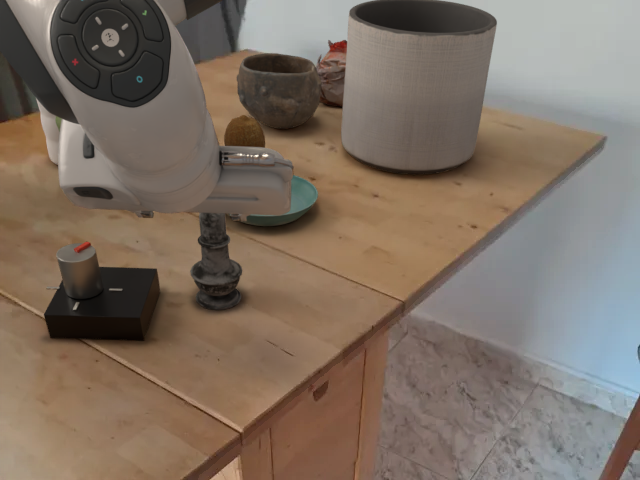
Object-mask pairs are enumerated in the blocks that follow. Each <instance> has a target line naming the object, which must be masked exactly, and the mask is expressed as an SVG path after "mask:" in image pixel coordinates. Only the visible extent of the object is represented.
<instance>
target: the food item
mask: <svg viewBox="0 0 640 480" xmlns="http://www.w3.org/2000/svg"><path fill="white" fill-rule="evenodd" d="M327 44H328V47H329V49H328V51H327V53H325V55H324V56H323V58H322V54H320V56H319V57H318V58H317V62H316V65H315V67H316V70H317V73H318V76H319V78H320V80H321V81H322V86H321V94H320V101H319V103H322V104H325V105H329V106H334V107H339V108H343V98H344V84H345V69H346V54H347V39H342V40H340V41H337V42H332V41H331V40H330V39H328V40H327Z"/></svg>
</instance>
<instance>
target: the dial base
mask: <svg viewBox="0 0 640 480" xmlns="http://www.w3.org/2000/svg"><path fill="white" fill-rule="evenodd" d="M99 268H100V273H101V278H102V283H103V290H102V292H101V293H100V294H98V295H96V296H94V297H91V298H87V299H75V298H72V297H69V296H68V295H67V294H66V292H65V288H64V284H63V280H61V281H60V283H59V285H58V286H46V288H45V289H46V290H53V291H54V290H55V292H54V294H53V296H52V298H51V300H50V301H49V304H48V306H47V307H46V308H45V309H46V310H45V311H44V313H43V318H44V321H45V325H46V328H47V331H48V335H49V338H50V339H69V340H72V339H73V340H74V339H75V340H99V341H100V340H105V341H134V342H136V341H137V342H138V341H139V342H144V341H145V339H146V335H147V333H148V329H149V326H150V323H151V321H152V317H153V314H154V311H155V308H156V305H157V302H158V299H159V295H160V293H161V287H160V279H159V274H158V273H159V272H158V268H155V267H154V268H151V267H123V266H122V267H121V266H119V267H118V266H99Z"/></svg>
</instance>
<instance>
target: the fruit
mask: <svg viewBox="0 0 640 480" xmlns="http://www.w3.org/2000/svg"><path fill="white" fill-rule="evenodd" d="M223 138H224V139H223V142H224V146H243V147H263V148H266V139H265V138H266V137H265V133H264V131H263V128H262V126H261V124H260V123H259V121H258V120H256V119H255V118H254V117H251V116H248V115H246V114H241V115H240V116H237V117H234V118H232V119H231V120H230V122H229V123H228V124H227V126H226V128H225V130H224V135H223Z"/></svg>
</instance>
